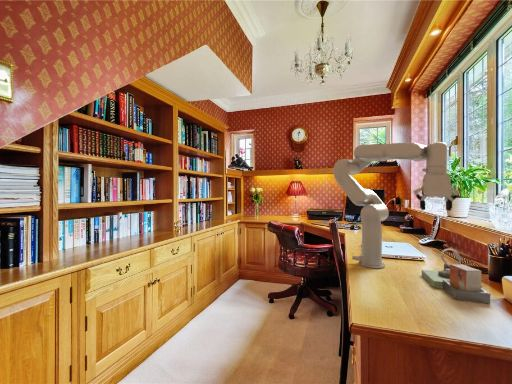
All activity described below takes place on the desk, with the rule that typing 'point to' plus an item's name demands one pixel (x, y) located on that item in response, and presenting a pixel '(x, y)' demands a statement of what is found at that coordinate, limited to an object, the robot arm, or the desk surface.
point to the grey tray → (466, 294)
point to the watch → (455, 256)
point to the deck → (436, 277)
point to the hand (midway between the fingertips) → (435, 210)
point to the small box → (465, 277)
